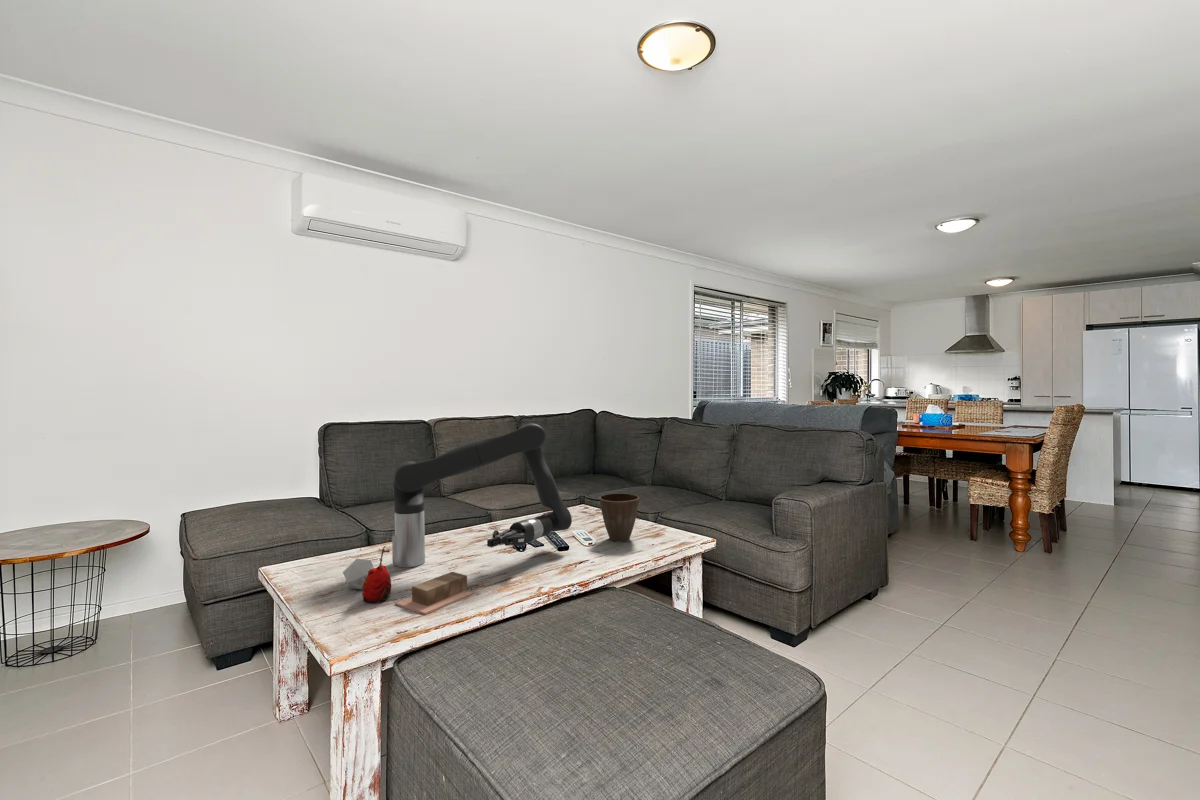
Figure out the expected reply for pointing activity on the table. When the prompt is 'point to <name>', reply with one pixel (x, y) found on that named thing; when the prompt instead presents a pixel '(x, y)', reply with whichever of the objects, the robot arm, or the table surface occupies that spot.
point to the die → (357, 573)
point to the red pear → (377, 583)
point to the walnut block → (439, 588)
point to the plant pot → (619, 514)
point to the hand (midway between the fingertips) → (489, 543)
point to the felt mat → (435, 606)
